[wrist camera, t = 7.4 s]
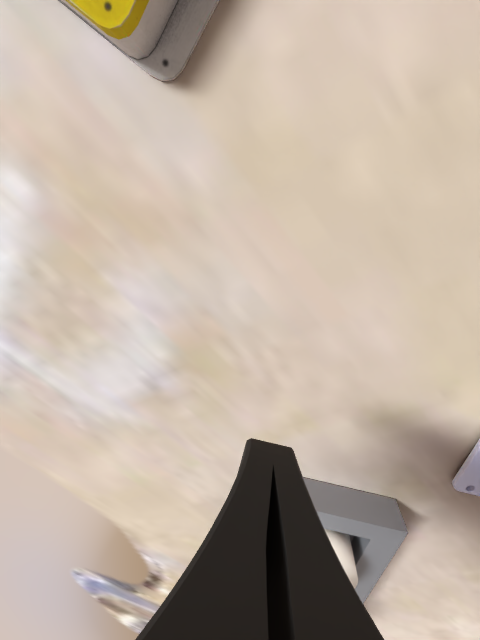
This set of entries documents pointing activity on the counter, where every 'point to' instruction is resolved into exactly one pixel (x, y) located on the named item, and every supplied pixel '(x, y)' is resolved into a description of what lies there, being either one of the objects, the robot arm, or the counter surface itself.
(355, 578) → the button cream
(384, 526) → the grey slotted tray
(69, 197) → the counter surface
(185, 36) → the emergency button
